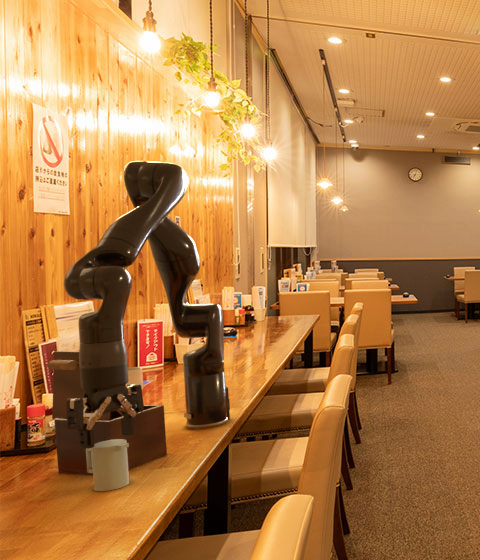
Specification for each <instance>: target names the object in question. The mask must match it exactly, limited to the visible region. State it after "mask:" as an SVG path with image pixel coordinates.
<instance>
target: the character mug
mask: <svg viewBox="0 0 480 560" xmlns="http://www.w3.org/2000/svg"><path fill="white" fill-rule="evenodd" d="M143 374H144V373H143V368H142V367H139V366H136V367H135V366H134V367H133V366H132V367H131V366H130V367H128V379H129V381H128V383H127V384H126V387H127V385H129V384H137V385H141V388H142V390H143V389H144V376H143ZM125 399H126V400H127V401H128V397H127V396H126V398H125ZM135 403H136V401H135Z"/></svg>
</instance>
